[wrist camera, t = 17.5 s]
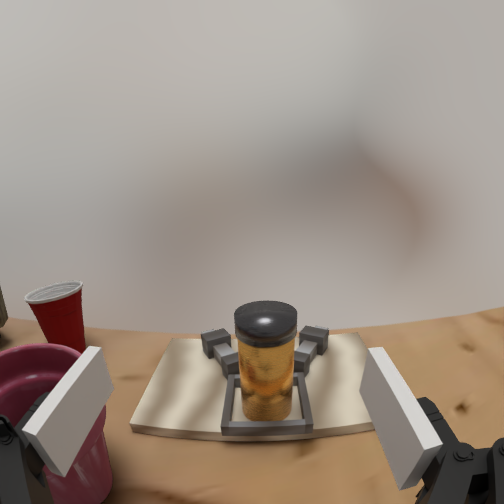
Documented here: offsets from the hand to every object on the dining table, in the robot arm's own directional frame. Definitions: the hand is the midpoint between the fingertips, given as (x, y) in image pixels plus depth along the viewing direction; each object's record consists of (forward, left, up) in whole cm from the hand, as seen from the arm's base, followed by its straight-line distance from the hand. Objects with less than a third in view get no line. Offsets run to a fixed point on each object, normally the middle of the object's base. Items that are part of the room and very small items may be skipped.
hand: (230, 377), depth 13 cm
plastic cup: (-31, +25, -17) cm, 44 cm away
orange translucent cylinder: (+2, +14, -15) cm, 21 cm away
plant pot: (-17, +1, -17) cm, 24 cm away
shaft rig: (+2, +20, -17) cm, 26 cm away
